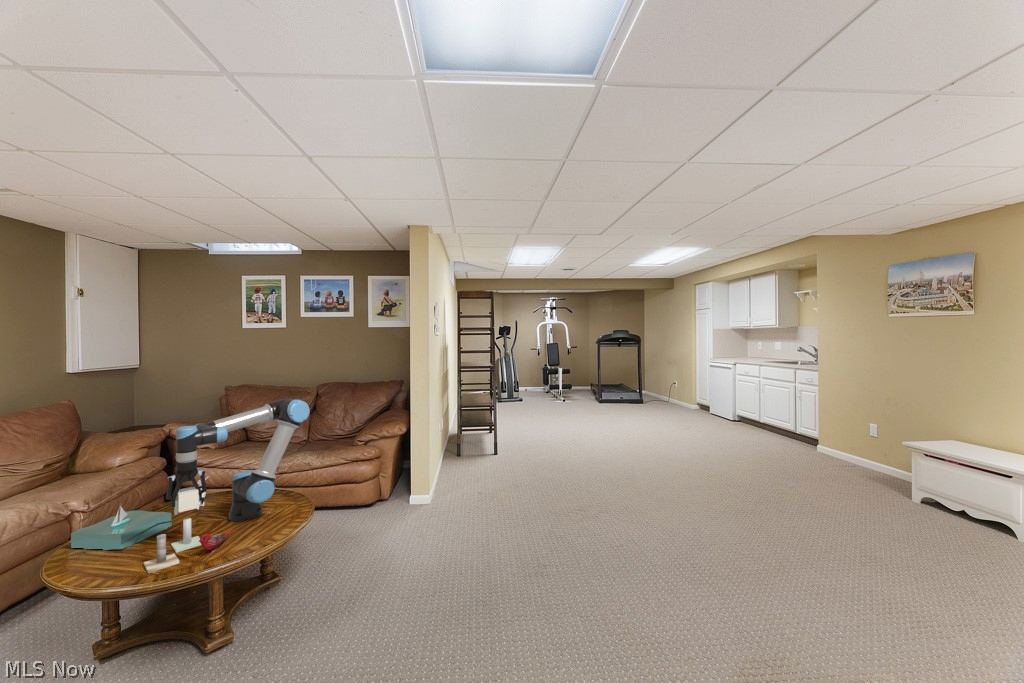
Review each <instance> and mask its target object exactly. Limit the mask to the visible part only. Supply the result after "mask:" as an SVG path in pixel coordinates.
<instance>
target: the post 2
mask: <svg viewBox="0 0 1024 683" xmlns="http://www.w3.org/2000/svg"><path fill="white" fill-rule="evenodd" d="M199 540H200V536H199V535H197V536H194V537H192V517H186V518H184V519H182V540H179V541H175V542H172V543H171V547H172V549H173V551H174V553H175V554H177V553H181V552H183V551H186V550H189V549H192V548H196V547H199V546H202V545H201V543H200V542H199Z"/></svg>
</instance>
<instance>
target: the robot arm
mask: <svg viewBox="0 0 1024 683" xmlns="http://www.w3.org/2000/svg"><path fill="white" fill-rule="evenodd" d="M310 411H311V410H310V407H309V405H308V404H307V402H306V401H304V400H301V399H294V398H282V399H279V400H275V401H272V402H267V403H266V404H264V406H260V407H258V408H255V409H250V410H247V411H243V412H241V413H237V414H234V415H233V414H232V415H230V416H227V417H223V418H219V419H216V420H213V421H209V422H205V423H202V422H201V423H196V424H194V425H184V426H180V427H178V428H177V429H176V433H175V447H176V448H175V451H176V453H175V454H176V456H175V461H176V464H175V465H176V466H175V473H174V474H173V475H171V476H167V477H166V478H167V489H166V494H165V498H166V500H167V501H170V507H171V508H174V509H173V514H174V515H175V516H177V515H178V513H179V512H178V511H177V504H178V500H177V499H176V497H177V493H178V492H179V490H180V489H182V488H181V487H182V485H183V484H184V483H187V482H191V483H192V484H193V487H195V488H196V489H198V508H196V510H200V507H199V501H201V500H202V493H204V492H206V493H207V491H208V489H207V484H206V480H205V478H206V477H205V475H206V471H205V470H204V469H201V470H198V460H197V459H198V446H207V445H212V444H219V443H223V442H225V441H226V440H227V439H228V434H229V433H230V432H232V431H236V430H239V429H243V428H247V427H249V426H252V425H255V424H259V423H262V422H265V421H270V422H272V421H275V420H277V423H278V425H277V427H276V428H275V430H274V433H273V435H272V437H271V439H270V441H269V443H268V445H267V448H266V449H265V451H264V454H263V455H262V458H261V460H260V462H259V464H258V466H257V468H256V469H252V470H251V469H250V470H249V469H248V470H246V471H244V470H243V471H239V472H236V473H234V474H233V475H232V477H231V478H232V479H231V485H232V486H231V487H232V489H231V490H232V491H231V492H232V503H231V507H230V510H229V513H228V520H230V521H231V522H243V520H244V521H247V520H248V519H249V520H252V519H254V518H257V517H260V516H261V515H262V514H261V513H263V507H262V503H265V502H266V501H268V500H269V499H271V498H272V496H273V495H274V492H275V490H276V489H275V484H274V483H275V481H276V479H277V477H276V475H275V473H276V471H277V469H278V467H279V465H280V462H281V461H282V458H283V456H284V454H285V452H286V450H287V448H288V445H289V443H290V441H291V439H292V437H293V435H294V433H295V431H296V429H299V428H300V427H301V424H302V422H303V423H304V422H305V421H307V419H308V418H309V416H310ZM197 475H198V476H199V480H200V479H201V485H202V490H200V488H199V487H200V486H201V485H200V486H198V485H199V484H197V482H198V481H197V480H196V476H197ZM175 479H177V483H176V485H175V488H174V490H172V489H173V484H174V481H175ZM172 491H173V492H172ZM260 514H261V515H260Z"/></svg>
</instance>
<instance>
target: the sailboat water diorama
mask: <svg viewBox="0 0 1024 683" xmlns="http://www.w3.org/2000/svg"><path fill="white" fill-rule="evenodd" d="M170 526H171V527H172V513H171V512H167V511H147V510H129V511H125V510H124V508H123V507H122V505H120V506H119V508H118V511H117V513H116V515H114V516H110V517H108V518H106V519H104V520H102V521H98V522H96V523H94V524H92V525H90V526H87V527H82V528H78V529H77V530H75V531H72V532H71V533H70V546H71V547H70V549H71V548H86V549H103V550H102V551H109V550H123V549H125V548H128V547H131V546H133V545H135V544H137V543H139V542H142V541H144V540H146V539H148V538H150V537H152V536H154V535H156V534H158V533H161V532H163V531H164V530H167V529H169V528H171V527H170ZM168 527H169V528H168ZM86 549H85V550H86Z"/></svg>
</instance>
